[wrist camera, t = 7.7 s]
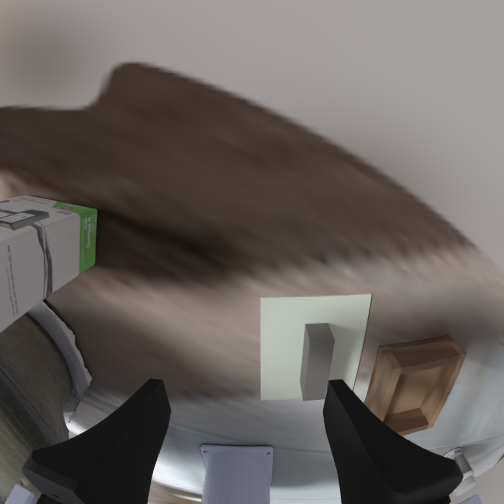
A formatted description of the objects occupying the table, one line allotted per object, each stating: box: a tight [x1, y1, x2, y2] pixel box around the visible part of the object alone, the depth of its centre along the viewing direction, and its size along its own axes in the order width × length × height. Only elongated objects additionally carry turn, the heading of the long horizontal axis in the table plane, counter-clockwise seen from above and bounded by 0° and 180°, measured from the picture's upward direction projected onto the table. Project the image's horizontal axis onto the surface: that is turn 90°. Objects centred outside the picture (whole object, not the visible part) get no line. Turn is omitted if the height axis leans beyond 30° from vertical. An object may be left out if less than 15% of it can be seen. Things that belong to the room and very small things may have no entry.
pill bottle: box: [444, 448, 476, 497], centre depth 25 cm, size 5×5×8 cm
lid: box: [261, 293, 372, 401], centre depth 22 cm, size 11×9×3 cm
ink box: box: [0, 196, 97, 333], centre depth 14 cm, size 9×5×12 cm, turn 78°
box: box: [364, 335, 466, 436], centre depth 22 cm, size 10×8×3 cm
